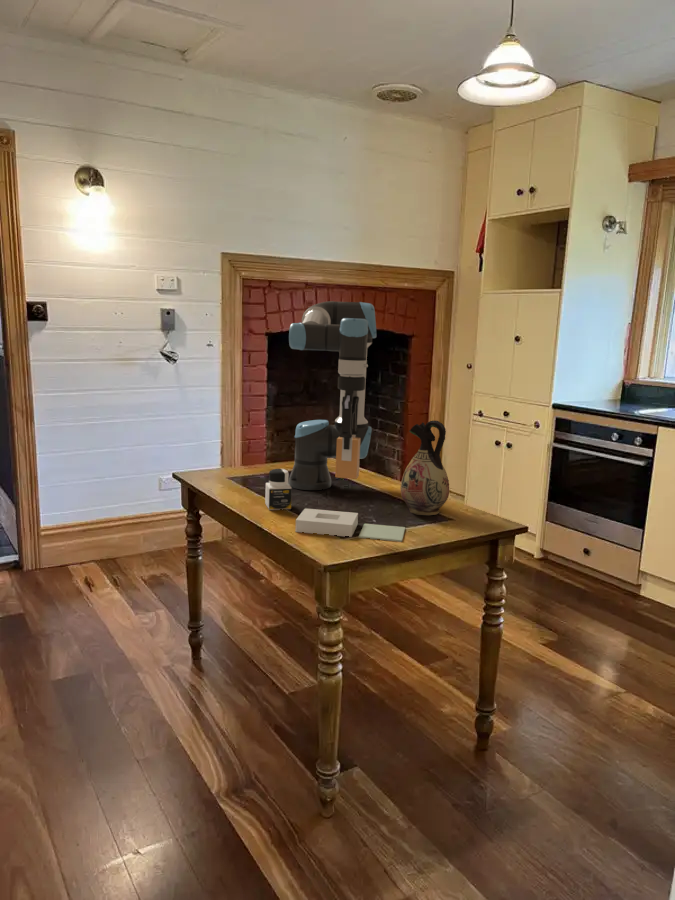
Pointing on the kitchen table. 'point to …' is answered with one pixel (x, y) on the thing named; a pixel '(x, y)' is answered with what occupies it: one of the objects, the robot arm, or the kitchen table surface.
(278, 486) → the medicine bottle
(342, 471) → the plug
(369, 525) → the mat
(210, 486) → the kitchen table surface
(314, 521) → the socket housing
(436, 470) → the ceramic jug
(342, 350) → the robot arm
